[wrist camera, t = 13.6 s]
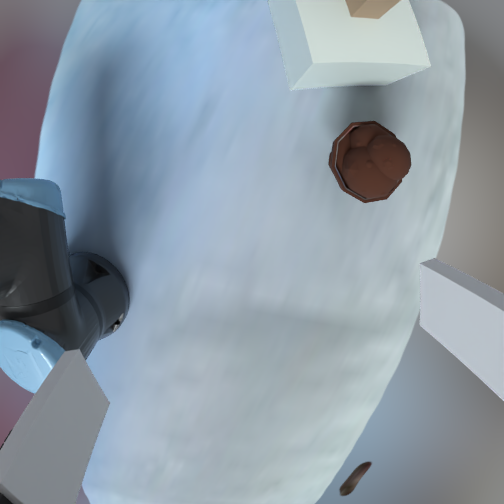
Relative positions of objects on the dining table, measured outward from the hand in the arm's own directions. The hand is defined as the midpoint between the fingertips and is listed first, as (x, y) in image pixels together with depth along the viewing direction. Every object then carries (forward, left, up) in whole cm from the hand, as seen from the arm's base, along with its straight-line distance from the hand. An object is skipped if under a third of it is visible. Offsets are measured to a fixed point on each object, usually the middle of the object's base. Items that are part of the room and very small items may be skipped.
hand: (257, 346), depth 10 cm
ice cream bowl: (+19, +4, -38) cm, 42 cm away
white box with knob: (+20, +25, -38) cm, 50 cm away
